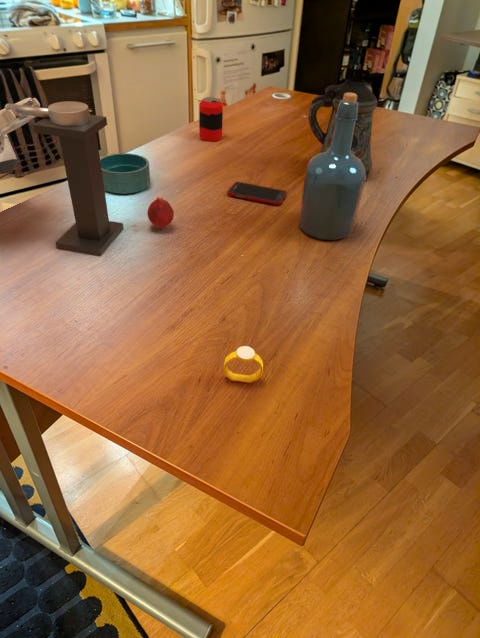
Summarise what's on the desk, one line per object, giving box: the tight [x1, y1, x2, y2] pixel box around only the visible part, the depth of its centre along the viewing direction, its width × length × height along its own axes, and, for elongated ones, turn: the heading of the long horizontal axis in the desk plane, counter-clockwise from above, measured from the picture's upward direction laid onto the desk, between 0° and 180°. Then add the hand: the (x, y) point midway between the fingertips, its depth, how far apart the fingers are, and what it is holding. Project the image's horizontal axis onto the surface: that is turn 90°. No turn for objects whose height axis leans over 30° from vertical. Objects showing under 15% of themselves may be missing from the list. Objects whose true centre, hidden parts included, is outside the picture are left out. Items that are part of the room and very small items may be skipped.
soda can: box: [198, 96, 224, 143], centre depth 150 cm, size 8×8×12 cm
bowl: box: [100, 152, 151, 195], centre depth 121 cm, size 13×13×6 cm
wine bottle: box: [298, 93, 367, 241], centre depth 101 cm, size 14×13×30 cm
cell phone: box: [226, 181, 288, 206], centre depth 122 cm, size 8×15×1 cm, turn 71°
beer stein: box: [307, 77, 378, 178], centre depth 129 cm, size 16×19×25 cm
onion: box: [146, 194, 175, 229], centre depth 104 cm, size 6×6×8 cm
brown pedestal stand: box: [32, 114, 124, 257], centre depth 93 cm, size 10×12×25 cm
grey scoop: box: [4, 100, 91, 127], centre depth 85 cm, size 16×7×2 cm, turn 78°
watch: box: [223, 345, 264, 384], centre depth 70 cm, size 6×3×6 cm, turn 87°
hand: (25, 107), depth 86 cm, fingers open, 6 cm apart
